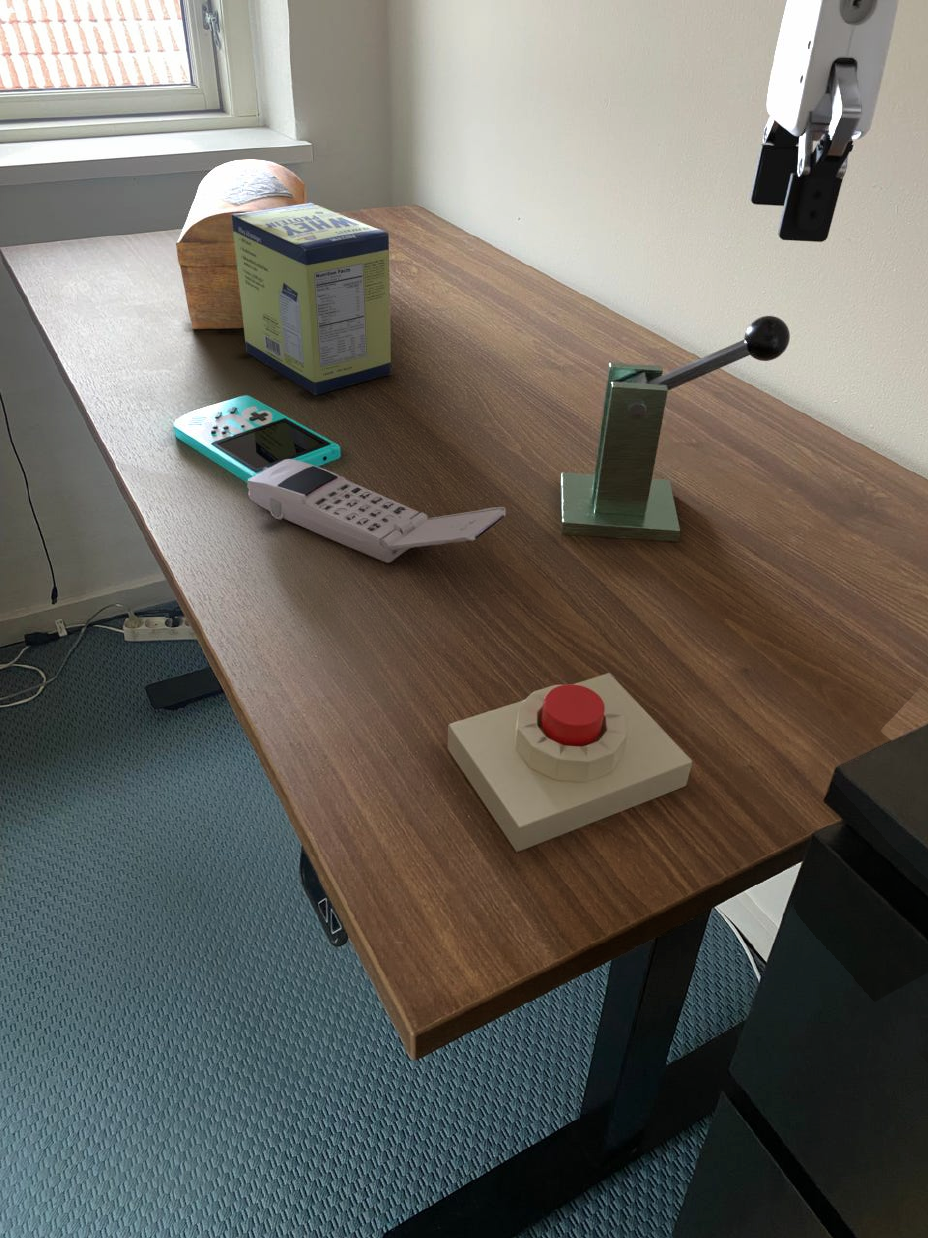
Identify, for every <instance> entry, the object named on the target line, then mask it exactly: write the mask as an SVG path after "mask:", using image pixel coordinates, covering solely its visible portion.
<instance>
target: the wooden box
mask: <svg viewBox="0 0 928 1238" xmlns="http://www.w3.org/2000/svg"><path fill="white" fill-rule="evenodd" d="M301 204H308V200H307V190H306V184H305V183H304V182H303V180H301V178H300V177H299V176H297V174H295V173H294V172H293V171H291V170H290V169H288V168H287V167H285V166H283V165H281V164H278V163H276V162H273V161H269V160H263V159H237V160H233V161H229V162H226V163H223V164H221V165H219V166H216V167H215V168H213V169H212V170H211V171H210V172H208V173H207V175H205V176H204V178H203V179H202V180H201V182H200V184H199V185H198V189H197V192H196V195H195V197H194V200H193V202H192V205H191V208H190V209H189V212H188V216H187V218H186V221H185V223H184V226H183V228H182V230H181V233H180V234H179V238H178V240H177V242H176V243H175V247H176V255H177V262H178V265H179V268H180V272H181V278H182V279H181V280H182V283H183V288H184V294H185V299H186V305H187V311H188V315H189V318H190V319H189V320H190V325H191V328H192V329H193V330H209V329H210V330H211V329H214V330H215V329H216V330H219V329H220V330H222V329H244V325H243V316H242V306H241V297H240V288H239V279H238V270H237V261H236V252H235V242H234V233H233V223H232V216H231V215H232V214H239V213H246V212H253V211H260V210H267V209H274V208H281V207H288V206H294V205H301Z"/></svg>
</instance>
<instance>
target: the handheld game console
mask: <svg viewBox="0 0 928 1238" xmlns="http://www.w3.org/2000/svg"><path fill="white" fill-rule="evenodd" d="M173 430H174V436H175V437H176V438H177V439H178V440H180V441H181V442H183V443H184V444H185V445H188V446H189V447H191V448H192V449H193V450H195V451H196V452H198V453H200V454H201V455H203V456H205V457H206V458H207V459H209V460H210V461H212V462H214V463H215V464H217V465H218V466H220V467H222V468H223V469H225V470H226V471H228V472H230V473H231V474H232V475H234V476H236V477H237V478H239V479H240V480H242V481H243V482H245V483H247V484H248V479H249V478H251V477H253V476H255V475H257V474H259V473H261V472H262V470H263V468H265V467H267V468H270V467H272V466H274V465H276V464H278V463H279V462H281V461H283V460H286V459H293V460H297V461H301V462H305V463H308V464H311V465H314V466H317V467H320V466H324V465H326V464H328V463H331V462H334V461H336V460H338V459H340V458H341V457H342V455H341V454H342V453H341V445H339V444H338V443H336V442H334V441H332V440H330V439H328V438H326V437H325V436H323V435H321V434H319V433H318V432H316V431H315V430H312V429H310V428H308V427H307V426H305V425H303V424H301V423H300V422H298V421H296V420H294V419H292V418H290V417H288V416H287V415H285V414H283V413H281V412H280V411H277V410H276V409H274V408H272V407H270V406H268V405H267V404H265V403H264V402H261V401H259V400H258V399H256V398H254V397H252V396H250V395H248V394H243V395H240V396H236V397H234V398H230V399H226V400H223V401H221V402H217V403H215V404H212V405H208V406H205V407H202V408H199V409H196V410H193V411H190V412H188V413H186V414H184V415H182V416H180V417H179V418H177V419H176V420H175V421H174V423H173Z"/></svg>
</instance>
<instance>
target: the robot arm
mask: <svg viewBox="0 0 928 1238" xmlns="http://www.w3.org/2000/svg"><path fill="white" fill-rule="evenodd" d="M899 1H900V0H786V4H785V8H784V13H783V17H782V21H781V25H780V30H779V34H778V39H777V43H776V48H775V53H774V58H773V62H772V63H773V64H772V67H771V72H770V78H769V83H768V91H767V96H766V110H767V113H768V115H769V116H768V117H769V118H768V120H767V122H766V124H765V128H764V131H763V135H762V143H761V144H760V148H759V153H758V158H757V163H756V168H755V172H754V177H753V182H752V187H751V192H750V197H749V199H750V202H751V203H752V204H753V205H757V206H776V207H777V206H779V207H783V209H782V213H781V217H780V222H779V226H778V230H777V236H778V237H779V238H780V239H781V240H782V241H794V242H812V243H813V242H815V243H822V242H825V241H826V240H827V239H828V236H829V233H830V230H831V227H832V222H833V219H834V215H835V211H836V207H837V203H838V198H839V195H840V192H841V188H842V184H843V180H844V177H845V175H846V173H847V169H848V157H849V154H850V153H851V152H852V151H853V148H854V140H860V139H862V138H863V137H864V136H866V135H867V134H868V133H869V131H870V130H871V127H872V123H873V119H874V115H875V111H876V106H877V102H878V98H879V94H880V89H881V85H882V81H883V77H884V72H885V67H886V62H887V60H888V59H887V58H888V53H889V50H890V45H891V41H892V36H893V31H894V26H895V21H896V16H897V11H898V6H899ZM814 142H817V144H816V146H815V148H814ZM813 148H814V149H813Z"/></svg>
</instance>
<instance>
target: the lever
mask: <svg viewBox="0 0 928 1238" xmlns="http://www.w3.org/2000/svg"><path fill="white" fill-rule="evenodd" d="M743 338H744V339H742V340H740V341H737V342H735V343H733V344H731V345H728V346H726V347H724V348H722V349H719V350H717V351H715V352H712V353H709V354H708V355H706V356H704V357H701V358H698V359H697V360H694V361H692V362H689V363H688V364H685V365H683V366H680V367H678V368H677V369H674V370H672V371H669V372H667V373H665V374H662V376H660V377H658V378H656V379H653V380H651V381H648V379H647V377H646V374H645V372H643V373H641V374H639V375H636V376H634V377H632V378H630V379H627V380H625V381H623V382H627V383H642V384H657V385H667V388H668V391H670V390H673V389H675V388H677V387H681V386H683V385H684V384H686V383H689V382H691V381H693V380H696V379H698V378H701V377H703V376H705V375H707V374H709V373H712V372H714V371H717V370H719V369H721V368H723V367H726V366H728V365H730V364H732V363H735V362H737V361H740V360H742V359H744V358H746V357H749V356H751V357H752V358H753V359H754V360H757V361H761V362H769V361H773V360H776V359H777V358H779V357H780V356H781V355H783V354H784V352H785V351H786V350H787V348H788V346H789V344H790V338H791V335H790V330H789V327H788V325H787V323H786V322H785V321H784V320H783V319H781V318H779V317H778V316H773V315H764V316H761V317H758V318H756V319H754V320H753V321H752V322H751V323H750V324H749V325H748V327H747V329H746V330H745V333H744V337H743Z"/></svg>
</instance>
